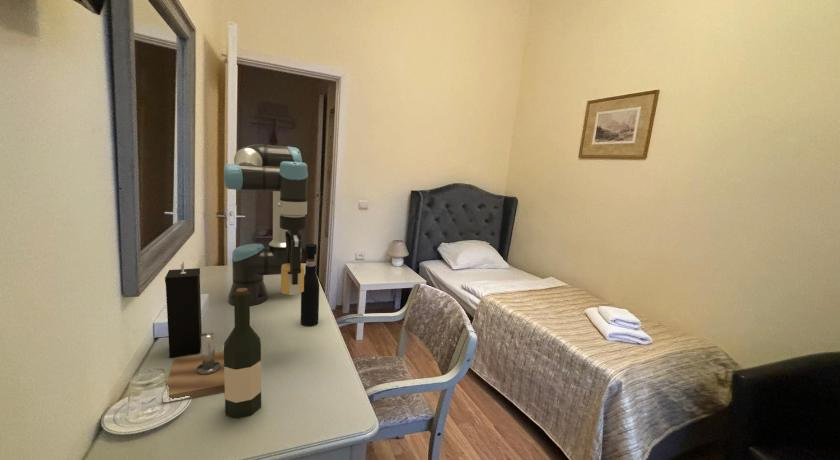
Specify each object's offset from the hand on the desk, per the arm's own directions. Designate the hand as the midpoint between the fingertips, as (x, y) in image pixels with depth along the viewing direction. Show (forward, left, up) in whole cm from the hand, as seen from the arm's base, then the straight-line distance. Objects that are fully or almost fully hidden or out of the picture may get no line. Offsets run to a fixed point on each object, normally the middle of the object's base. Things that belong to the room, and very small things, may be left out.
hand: (292, 290), depth 108 cm
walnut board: (+5, -22, -21) cm, 31 cm away
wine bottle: (-20, +9, -21) cm, 31 cm away
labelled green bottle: (+22, -14, -21) cm, 33 cm away
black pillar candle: (-12, -29, -21) cm, 38 cm away
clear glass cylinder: (+5, -22, -19) cm, 30 cm away
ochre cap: (0, 0, 0) cm, 0 cm away
